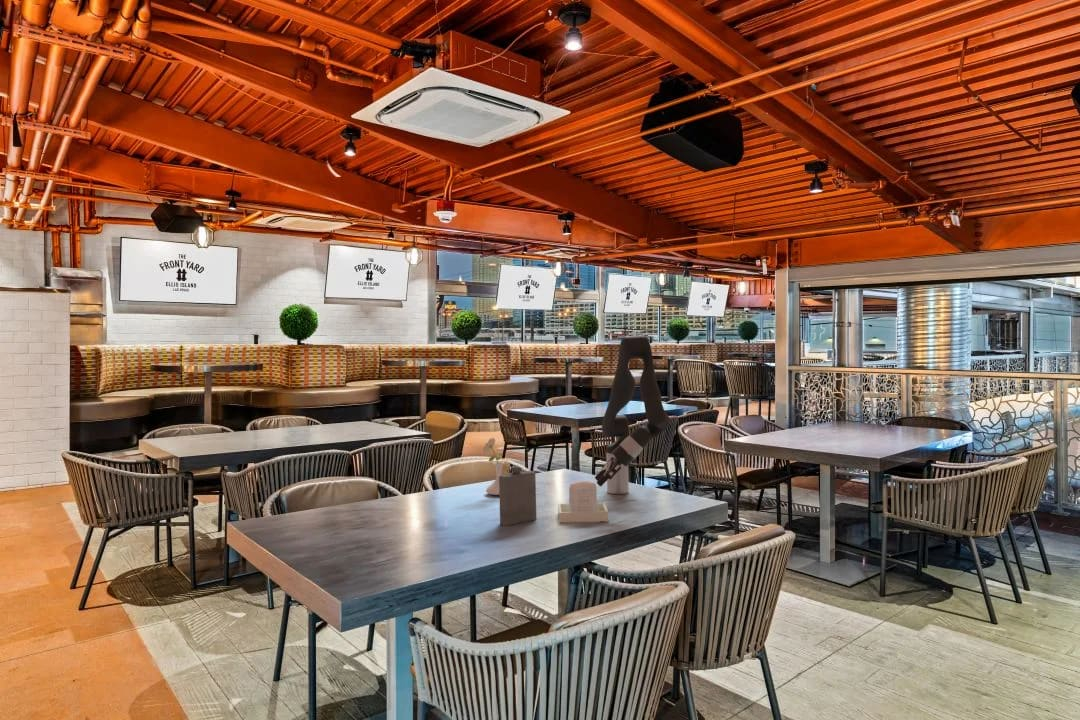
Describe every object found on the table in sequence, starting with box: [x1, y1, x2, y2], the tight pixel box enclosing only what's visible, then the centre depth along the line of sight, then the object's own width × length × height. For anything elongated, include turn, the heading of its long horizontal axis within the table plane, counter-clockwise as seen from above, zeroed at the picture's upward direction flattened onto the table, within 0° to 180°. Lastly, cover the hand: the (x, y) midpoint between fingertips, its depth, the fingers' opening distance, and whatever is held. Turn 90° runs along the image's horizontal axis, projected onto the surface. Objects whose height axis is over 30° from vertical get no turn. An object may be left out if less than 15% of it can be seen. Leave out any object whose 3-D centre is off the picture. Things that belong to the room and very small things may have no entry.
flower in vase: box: [482, 437, 505, 496], centre depth 283 cm, size 13×11×25 cm
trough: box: [557, 502, 609, 523], centre depth 243 cm, size 14×18×4 cm
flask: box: [498, 465, 537, 527], centre depth 239 cm, size 15×6×20 cm, turn 126°
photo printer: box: [568, 480, 598, 512], centre depth 243 cm, size 10×4×12 cm, turn 94°
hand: (597, 482), depth 243 cm, fingers open, 8 cm apart
